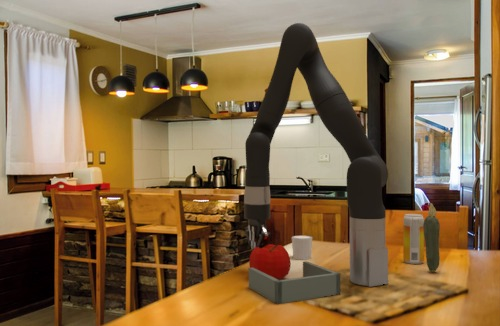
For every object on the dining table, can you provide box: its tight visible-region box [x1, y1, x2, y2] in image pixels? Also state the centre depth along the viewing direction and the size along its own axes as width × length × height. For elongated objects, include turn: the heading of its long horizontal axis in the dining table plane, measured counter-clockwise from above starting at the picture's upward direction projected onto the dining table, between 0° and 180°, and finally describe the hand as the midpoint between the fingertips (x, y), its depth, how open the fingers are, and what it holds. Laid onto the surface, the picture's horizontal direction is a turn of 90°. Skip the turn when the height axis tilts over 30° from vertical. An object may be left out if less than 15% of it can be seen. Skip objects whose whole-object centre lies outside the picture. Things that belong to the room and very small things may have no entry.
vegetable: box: [423, 202, 441, 273], centre depth 136 cm, size 4×4×20 cm
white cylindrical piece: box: [291, 234, 313, 261], centre depth 156 cm, size 7×7×7 cm
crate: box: [248, 260, 341, 305], centre depth 118 cm, size 15×17×5 cm
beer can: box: [402, 213, 425, 265], centre depth 149 cm, size 6×6×15 cm
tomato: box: [248, 243, 291, 280], centre depth 129 cm, size 11×12×9 cm
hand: (256, 262), depth 136 cm, fingers closed
